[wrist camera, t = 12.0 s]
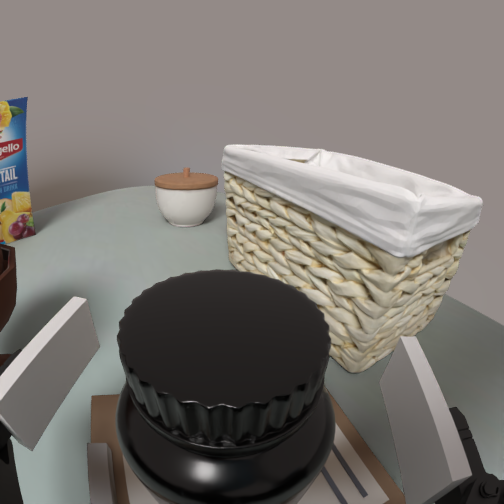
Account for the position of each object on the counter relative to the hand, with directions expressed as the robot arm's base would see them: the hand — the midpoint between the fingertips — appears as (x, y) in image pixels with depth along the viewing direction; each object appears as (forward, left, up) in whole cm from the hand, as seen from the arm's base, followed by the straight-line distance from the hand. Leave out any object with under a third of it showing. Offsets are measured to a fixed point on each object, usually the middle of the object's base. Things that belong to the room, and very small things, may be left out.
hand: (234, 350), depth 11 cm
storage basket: (+14, -15, -9) cm, 22 cm away
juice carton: (+41, +31, -9) cm, 52 cm away
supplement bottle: (-3, +1, -8) cm, 9 cm away
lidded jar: (+41, -4, -9) cm, 42 cm away
